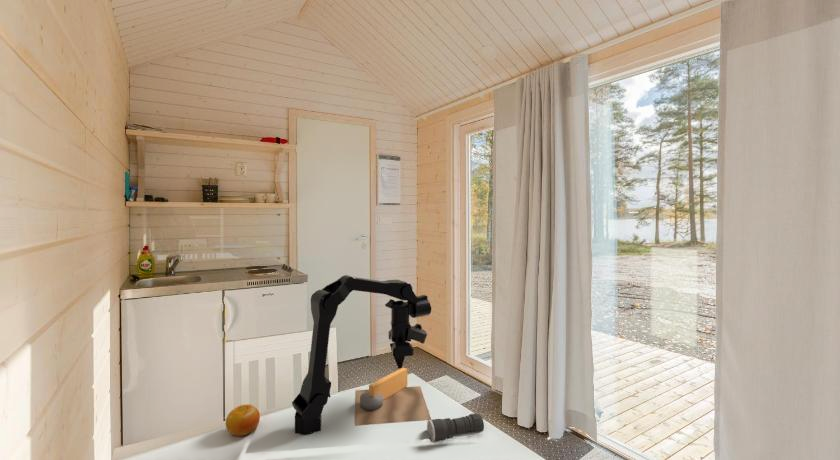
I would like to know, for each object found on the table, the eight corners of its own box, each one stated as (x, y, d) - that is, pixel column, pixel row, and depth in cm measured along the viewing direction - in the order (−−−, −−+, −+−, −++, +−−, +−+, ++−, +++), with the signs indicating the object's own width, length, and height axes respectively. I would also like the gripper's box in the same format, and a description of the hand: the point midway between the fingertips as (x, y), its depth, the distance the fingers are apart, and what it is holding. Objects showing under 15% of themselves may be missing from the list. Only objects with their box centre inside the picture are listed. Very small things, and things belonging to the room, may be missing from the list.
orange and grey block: (372, 412, 121) (372, 393, 120) (355, 405, 125) (355, 386, 124) (413, 387, 137) (413, 370, 137) (397, 382, 141) (397, 365, 141)
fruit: (216, 419, 113) (232, 397, 112) (243, 418, 120) (258, 397, 119) (225, 445, 108) (242, 421, 107) (253, 442, 114) (269, 419, 114)
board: (354, 430, 114) (354, 425, 114) (355, 394, 136) (355, 389, 136) (431, 424, 117) (431, 419, 117) (420, 390, 139) (420, 385, 139)
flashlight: (476, 426, 117) (477, 408, 116) (485, 436, 112) (485, 417, 111) (426, 435, 112) (427, 416, 112) (433, 446, 107) (433, 426, 107)
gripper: (430, 327, 120) (429, 379, 121) (420, 311, 138) (420, 356, 139) (393, 329, 118) (392, 381, 119) (388, 312, 137) (388, 357, 138)
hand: (399, 368), depth 129 cm, fingers closed
